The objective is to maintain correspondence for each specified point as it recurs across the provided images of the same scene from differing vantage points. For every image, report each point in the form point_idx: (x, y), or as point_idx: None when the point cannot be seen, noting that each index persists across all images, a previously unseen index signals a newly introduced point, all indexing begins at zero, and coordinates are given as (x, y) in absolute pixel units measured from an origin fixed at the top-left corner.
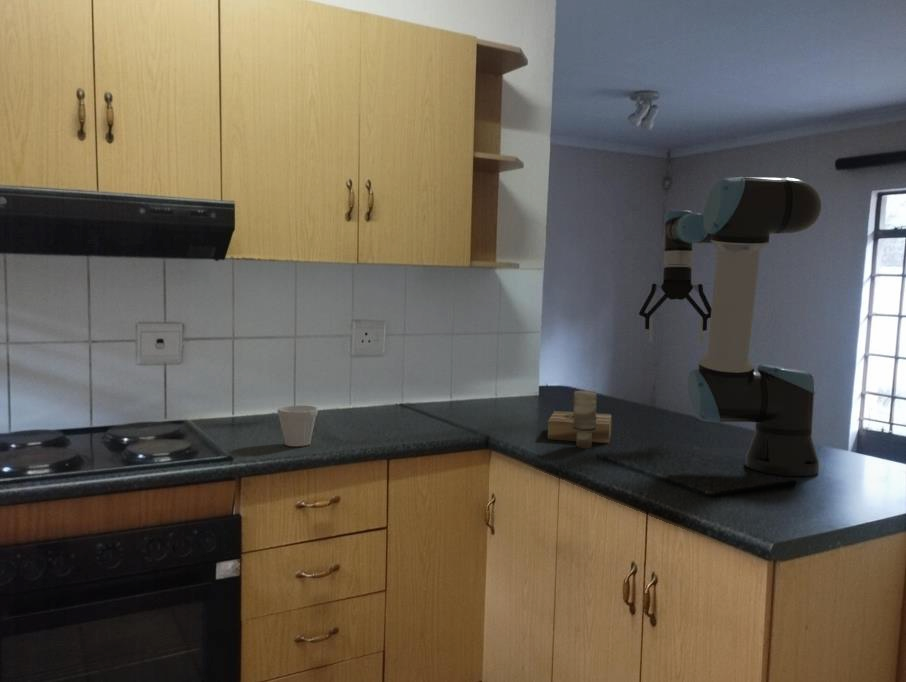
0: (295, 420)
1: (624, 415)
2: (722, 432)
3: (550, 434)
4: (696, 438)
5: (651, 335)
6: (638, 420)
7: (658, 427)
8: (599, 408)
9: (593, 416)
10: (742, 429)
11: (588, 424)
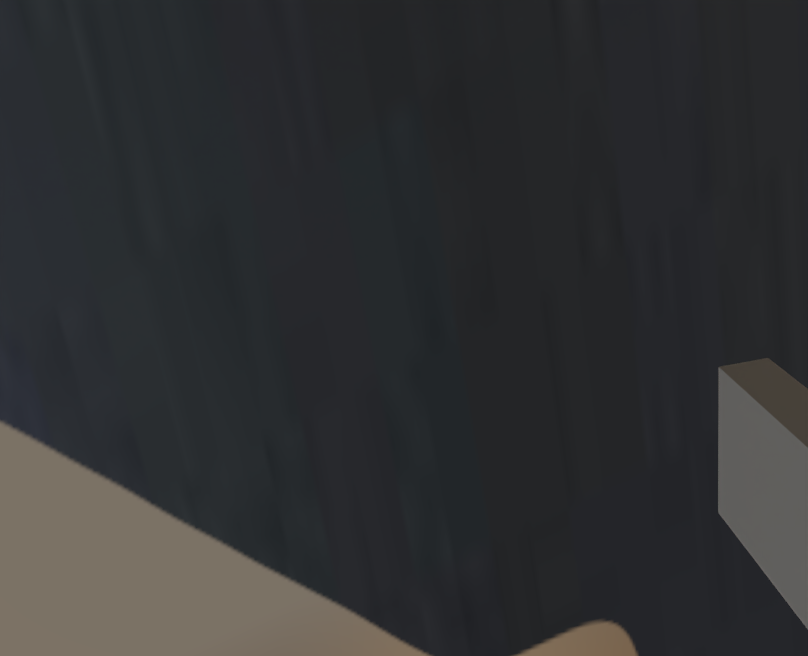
0: None
1: (645, 476)
2: (76, 278)
3: None
4: (159, 12)
5: (784, 420)
6: (558, 382)
7: (426, 240)
8: None
9: None
10: (8, 413)
11: None
